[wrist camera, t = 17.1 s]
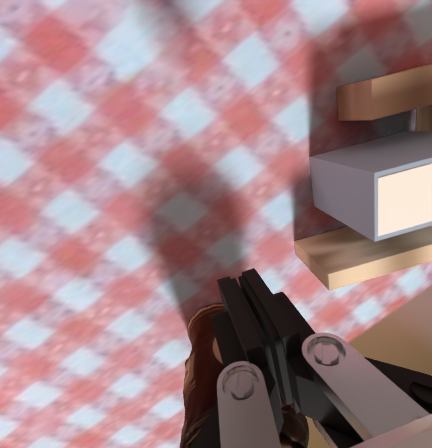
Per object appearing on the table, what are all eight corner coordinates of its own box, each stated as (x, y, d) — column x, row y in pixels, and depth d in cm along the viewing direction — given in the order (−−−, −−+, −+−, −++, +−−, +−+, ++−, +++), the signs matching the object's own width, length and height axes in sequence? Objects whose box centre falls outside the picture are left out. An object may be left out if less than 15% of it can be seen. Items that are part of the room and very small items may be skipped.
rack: (296, 255, 26) (329, 291, 20) (276, 102, 21) (313, 95, 15) (424, 218, 27) (490, 243, 21) (436, 62, 22) (527, 41, 16)
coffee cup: (211, 276, 25) (246, 414, 13) (275, 312, 28) (351, 454, 16) (160, 340, 27) (151, 514, 15) (225, 369, 30) (261, 535, 18)
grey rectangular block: (313, 205, 25) (375, 242, 17) (308, 156, 23) (374, 173, 15) (404, 180, 25) (503, 205, 18) (407, 130, 23) (516, 134, 16)
